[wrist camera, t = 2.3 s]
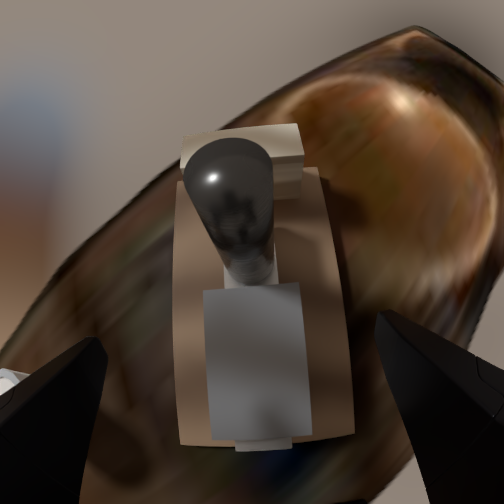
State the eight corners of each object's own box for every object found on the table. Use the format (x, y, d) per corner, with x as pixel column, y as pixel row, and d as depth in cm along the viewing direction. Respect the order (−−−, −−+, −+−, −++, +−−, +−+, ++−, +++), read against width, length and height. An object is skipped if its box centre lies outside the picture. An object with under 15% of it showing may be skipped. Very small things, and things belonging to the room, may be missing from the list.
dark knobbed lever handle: (289, 434, 15) (308, 529, 4) (241, 437, 15) (197, 530, 5) (269, 217, 20) (262, 87, 10) (228, 221, 21) (189, 96, 10)
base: (350, 429, 16) (380, 455, 10) (185, 440, 17) (151, 468, 11) (315, 175, 24) (324, 122, 18) (181, 189, 25) (157, 141, 19)
